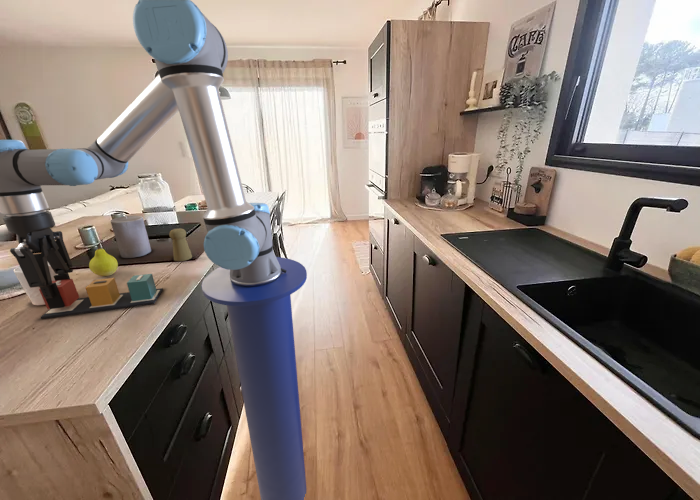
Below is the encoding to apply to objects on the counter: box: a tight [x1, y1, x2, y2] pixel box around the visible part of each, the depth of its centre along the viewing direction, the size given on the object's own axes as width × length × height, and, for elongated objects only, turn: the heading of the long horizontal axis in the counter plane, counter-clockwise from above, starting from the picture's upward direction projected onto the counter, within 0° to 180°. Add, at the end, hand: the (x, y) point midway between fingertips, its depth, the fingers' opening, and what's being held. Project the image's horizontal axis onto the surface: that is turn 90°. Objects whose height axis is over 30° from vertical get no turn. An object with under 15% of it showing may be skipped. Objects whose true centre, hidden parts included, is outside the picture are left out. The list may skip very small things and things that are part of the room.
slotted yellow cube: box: [85, 277, 121, 307], centre depth 75 cm, size 4×4×6 cm
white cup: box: [12, 261, 58, 306], centre depth 76 cm, size 8×8×10 cm
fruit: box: [88, 238, 119, 277], centre depth 90 cm, size 7×7×12 cm
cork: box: [168, 228, 193, 262], centre depth 103 cm, size 6×6×11 cm
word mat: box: [40, 287, 164, 320], centre depth 76 cm, size 24×8×1 cm, turn 107°
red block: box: [39, 278, 80, 310], centre depth 72 cm, size 4×4×6 cm
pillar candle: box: [110, 215, 152, 259], centre depth 107 cm, size 10×10×15 cm
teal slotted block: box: [126, 273, 157, 301], centre depth 77 cm, size 4×4×6 cm
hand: (64, 302), depth 73 cm, fingers closed on red block, 4 cm apart
